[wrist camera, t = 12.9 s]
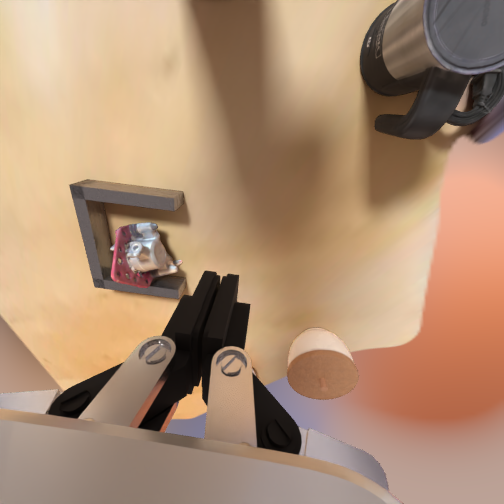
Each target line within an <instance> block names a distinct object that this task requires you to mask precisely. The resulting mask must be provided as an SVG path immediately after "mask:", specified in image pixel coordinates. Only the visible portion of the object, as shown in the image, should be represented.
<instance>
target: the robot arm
mask: <svg viewBox="0 0 504 504" xmlns="http://www.w3.org/2000/svg"><path fill="white" fill-rule="evenodd" d="M238 283H239V275H233V274H228V275H227V277H226V276H223V278H222V281H221V284H220V276H219V275H217V273H216V272H211V271H204V273H203V275H202V277H201V279H200V281H199V284H198V286H197V288H196V290H195V292H194V294H193V296H189V295H184V296H183V297H182V298H181V300H180V302H179V304H178V306H177V308H176V310H175V311H174V313H173V315H172V317H171V319H170V321H169V323H168V324H167V326H166V328H165V330H164V332H163V334H162V335H161V336H154V337H151V338H148V339H146V340H144V341H143V342H141V343H140V344H139V345H138V346H137V347H136V349H135V350H134V351H133V352H132V353H131V355H130V356H129V357H128V358H127V359H126V361H125V362H123V363H121V364H119V365H117V366H115V367H113V368H110V369H108V370H106V371H104V372H102V373H100V374H98V375H96V376H93V377H91V378H89V379H87V380H85V381H83V382H81V383H79V384H76V385H74V386H72V387H71V388H69V389H67V390H65V391H64V392H59V390H58V389H55V390H43V391H29V392H16V393H3V394H0V504H403V503H402V502H401V501H400V500H399V499H397V498H396V497H395V496H394V495H392V494H391V493H390V492H389V488H388V482H387V478H386V474H385V472H384V470H383V469H382V467H381V465H380V463H378V461H377V460H376V459H375V458H374V457H373V456H372V455H370V454H369V453H367V452H365V451H363V450H361V449H358V448H356V447H354V446H351V445H349V444H346V443H344V442H342V441H339V440H337V439H335V438H332V437H330V436H327V435H325V434H322V433H320V432H318V431H315V430H313V429H310V428H309V429H308V430H305V429H303V428H301V427H298V426H297V424H296V423H295V421H294V420H293V419H292V418H291V416H290V415H289V414H288V413H287V412H286V410H285V409H284V408H283V407H282V406H281V405H280V404H279V402H278V401H277V400H276V399H275V398H274V397H273V395H272V394H271V393H270V392H269V391H268V390H267V388H266V387H265V386H264V385H263V384H262V383H261V382H260V380H259V379H258V378H257V377H256V376H255V375H254V373H253V372H252V363H251V359H250V356H249V355H248V353H247V352H246V351H244V348H245V341H246V334H247V326H248V319H249V311H250V304H246V303H239V302H237V294H238ZM201 377H202V387H203V388H202V399H203V400H204V402H205V403H206V405H207V416H206V427H205V438H204V439H202V438H195V437H189V436H183V435H177V434H171V433H164V432H165V430H166V428H167V426H168V424H169V423H170V420H171V419H172V417H173V415H174V413H175V411H176V409H177V406H178V403H179V400H181V399H182V398H184V397H185V396H187V394H192V391H193V388H194V386H199V383H200V380H201Z"/></svg>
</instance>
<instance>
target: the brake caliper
mask: <svg viewBox="0 0 504 504" xmlns="http://www.w3.org/2000/svg"><path fill="white" fill-rule="evenodd" d="M157 228H158V226H157V225H156V224H154V223H150V222H148V223H138V224H131V225H127V226H123V227H120V228H119V229H118V230H116V231H115V233H116V241H115V244H114V245H113V246H112V247H111V248H110V250H112V251H114V255H113V263H112V270H111V277H112V279H113V281H115V282H118V283H122V284H128V285H131V286H136V287H139V288H148V287H149V286H150V284H151V282H152V280H153V279H154V278H155V277H160V276H163V275H168V274H172V273H176V272H178V267H176V266H179V265H180V264H182V263H183V262H182V261H181V260H176V261H173V259H172V257H171V256H170V255H169V254H168V253H167V252H166V250H165V248H164V246H163V244H162V243H161V241H160V234H159V233H158V232H157V230H156V229H157ZM118 258H120V259H121V264H120V263H119V262H118ZM134 270H138V271H137V274H136V273H135V272H134ZM117 273H118V275H117ZM126 275H129V279H127V277H126ZM134 279H135V281H134Z"/></svg>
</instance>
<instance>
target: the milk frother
mask: <svg viewBox="0 0 504 504" xmlns="http://www.w3.org/2000/svg"><path fill="white" fill-rule="evenodd" d="M360 66H361V72H362V75H363V78H364V80H365V82H366V83H367V85H368V86H369V87H370V88H371V89H372V90H373V91H375V92H377V93H378V94H381V95H385V96H397V95H403V94H406V93H410V92H414V91H417V90H419V91H418V94H417V97H416V99H415V101H414V103H413V105H412V107H411V109H410V110H409V112H408V113H407V114H406V115H391V114H384V115H379V116H378V117H377V118H376V120H375V126H374V127H375V130H377V131H379V132H382V133H385V134H389V135H393V136H397V137H401V138H406V139H424V138H427V137H429V136H431V135H433V134H434V133H436V132H437V131H438V130H439V129H440V128H441V127H442V126H443V125H444V124H445V123H446V122H447V123H448V124H451V125H454V126H465V125H469V124H472V123H474V122H476V121H478V120H479V119H481V118H483V117H484V116H485V115H487V114H488V113H490V112H491V111H492V109H493V108H494V107H495V106H496V105H497V104H498V102H499V101H500V100H501V98H502V97H503V95H504V0H397V1H396V2H395V3H393V4H391V5H390V6H389V7H387V8H386V9H385V10H384V11H382V12H381V13H380V14H379V16H378V17H377V18H376V19H375V20H374V22H373V23H372V25H371V26H370V28H369V30H368V32H367V34H366V36H365V39H364V41H363V45H362V49H361V55H360ZM476 74H478V75H477V76H476V77H474V78H473V79H472V81H471V82H470V83H471V84H473V97H472V99H473V100H474V103H473V106H472V108H473V109H472V110H471V111H468V112H460V111H457V110H455V109H456V107H457V105H458V103H459V101H460V99H461V97H462V95H463V93H464V91H465V89H466V87H467V84H468V82H469V80H470V78H471V76H472V75H476ZM487 97H488V98H487Z"/></svg>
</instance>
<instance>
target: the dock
mask: <svg viewBox="0 0 504 504" xmlns="http://www.w3.org/2000/svg"><path fill="white" fill-rule="evenodd" d="M69 186H70V190H71V194H72V198H73V202H74V206H75V210H76V214H77V218H78V222H79V226H80V230H81V234H82V238H83V242H84V246H85V250H86V254H87V258H88V262H89V266H90V270H91V274H92V278H93V282H94V286H95V287H97V288H104V289H111V290H118V291H125V292H133V293H140V294H147V295H154V296H161V297H168V298H175V299H179V298H180V296H181V294H182V293H183V291H184V289H185V287H186V278H182V277H175V276H168V275H163V276H160V277H155V278H154V279H153V280H152V282H151V284H150V286H149V287H148V288H139V287H136V286H131V285H128V284H122V283H118V282H115V281H113V279H112V277H111V270H112V263H113V251H112V250H110V248H111V247H112V245H111V240H110V235H109V229H108V224H107V219H106V214H105V208H104V203H103V202H108V203H115V204H123V205H131V206H138V207H146V208H154V209H162V210H169V211H175V210H177V209H178V208H179V207H180V206H181V205H182V204H183V192H182V191H174V190H166V189H159V188H151V187H143V186H135V185H127V184H119V183H111V182H104V181H96V180H88V179H87V180H84V181H81V182H77V183H74V184H71V185H69ZM134 272H135V273H136V274H137V271H134ZM117 275H118V273H117ZM126 277H127V279H129V275H126ZM134 281H135V279H134Z"/></svg>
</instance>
